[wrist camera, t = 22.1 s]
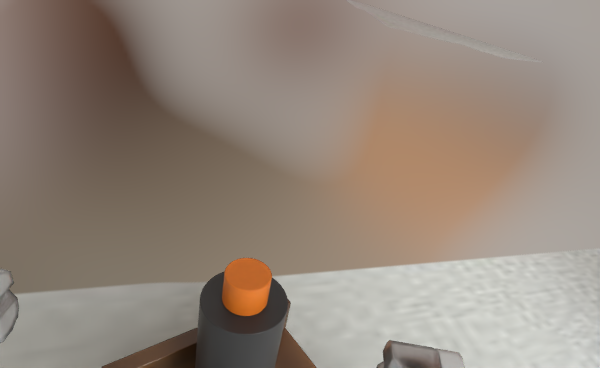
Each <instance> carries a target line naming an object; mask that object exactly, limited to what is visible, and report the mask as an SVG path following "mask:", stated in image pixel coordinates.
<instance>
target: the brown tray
mask: <svg viewBox="0 0 600 368" xmlns="http://www.w3.org/2000/svg"><path fill="white" fill-rule="evenodd" d="M287 300H288V299H287ZM290 304H291V303H290V301H289V300H288V309H287V314H286V318H285V323H284V328H283V332H282V337H281V341H280V346H279V351H278V355H277V360H276V364H275V368H316V366H315V365H314V364H313V363H312V361H311V360H310V359H309V358H308V356H307V355H306V354H305V352H304V351H303V350H302V349H301V347H300V346H299V345H298V344H297V342H296V341H295V340H294V339H293V337H292V336H291V335H290V333H289V332H288V331H287V330H286V328H285V326H286V322H287V317H288V313H289V308H290ZM197 334H198V328H195V329H193V330H190V331H188V332H186V333H183V334H181V335H178V336H176V337H173V338H171V339H168V340H166V341H163V342H161V343H159V344H156V345H154V346H151V347H149V348H146V349H144V350H141V351H139V352H136V353H134V354H132V355H129V356H127V357H124V358H122V359H119V360H117V361H114V362H112V363H110V364H107V365H105V366H102V368H195V362H196V348H197Z"/></svg>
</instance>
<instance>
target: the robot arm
mask: <svg viewBox="0 0 600 368" xmlns="http://www.w3.org/2000/svg"><path fill="white" fill-rule="evenodd" d="M13 283H14V281H13V278H12V274H11V271H8V270H4V269H0V343H2V342H4V340H5V339H6V338H7V336H8V335H9V334H10V332H11V331H12V330H13V327H14V325H15V322H16V320H17V318H18V311H19V304H18V299H17V297H16V296H15V295H14V294H13V293H12V292H11V291H10V290H9V288H10V287H11V286H12V285H13ZM383 358H384V361H383V362H381V363H380V364H378V365H377V368H465V366H464V362H463V358H462V356H461V355H460V354H459V353H458V352H452V351H447V350H441V349H434V348H432V347H426V346H420V345H414V344H409V343H403V342H397V341H391V340H389V341H388V342H387V343H386V345H385V348H384V350H383Z"/></svg>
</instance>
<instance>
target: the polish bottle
mask: <svg viewBox="0 0 600 368" xmlns="http://www.w3.org/2000/svg"><path fill="white" fill-rule="evenodd" d="M287 309H288V300H287V296H286V293H285V291H284V289H283V288H282V286H281V285H280V284H279V283H278V282H277V281H276V280H275V279H273V278H272V274H271V271H270V269H269V267H268V266H267V265H266V264H264V263H263V262H261V261H259V260H256V259H252V258H240V259H237V260H234V261H232V262H231V263H230V264H229V265H228V266H227V267H226V269H225V272H222V273H220V274H218V275H216V276H214V277H213V278H212V279H210V280H209V281H208V282H207V284H206V285H205V286H204V288H203V290H202V292H201V296H200V306H199V320H198V334H197V348H196V362H195V368H275V364H276V360H277V355H278V351H279V346H280V341H281V337H282V332H283V328H284V323H285V318H286V314H287Z"/></svg>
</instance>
